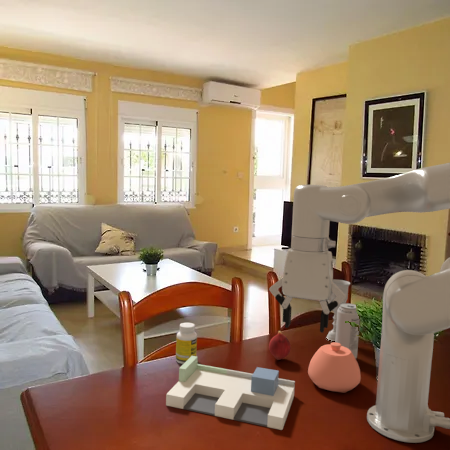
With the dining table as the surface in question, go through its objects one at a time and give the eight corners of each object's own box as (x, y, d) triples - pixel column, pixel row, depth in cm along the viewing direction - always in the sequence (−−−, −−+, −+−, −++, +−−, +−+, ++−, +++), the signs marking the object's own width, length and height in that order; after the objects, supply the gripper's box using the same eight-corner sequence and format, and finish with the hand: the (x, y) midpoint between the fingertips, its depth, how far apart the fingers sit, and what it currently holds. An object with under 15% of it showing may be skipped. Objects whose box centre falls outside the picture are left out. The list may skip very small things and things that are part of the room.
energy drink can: (341, 352, 125) (344, 301, 123) (360, 359, 120) (364, 306, 119) (330, 358, 120) (333, 305, 119) (350, 365, 116) (353, 310, 114)
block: (278, 385, 98) (278, 370, 98) (273, 396, 93) (274, 380, 93) (256, 381, 99) (257, 367, 99) (250, 391, 95) (251, 376, 94)
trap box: (294, 395, 99) (295, 372, 98) (282, 430, 85) (283, 403, 84) (191, 376, 106) (192, 355, 106) (166, 405, 93) (166, 380, 92)
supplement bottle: (193, 366, 112) (194, 329, 111) (173, 363, 113) (173, 327, 112) (198, 357, 118) (199, 322, 116) (179, 355, 119) (180, 320, 118)
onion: (293, 359, 119) (294, 330, 118) (284, 366, 114) (285, 336, 113) (274, 353, 122) (275, 326, 121) (264, 360, 117) (265, 332, 116)
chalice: (322, 341, 132) (326, 283, 130) (321, 334, 139) (325, 278, 137) (347, 344, 131) (351, 285, 129) (345, 336, 138) (349, 280, 135)
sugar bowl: (303, 390, 101) (305, 348, 100) (312, 366, 114) (315, 329, 113) (358, 401, 97) (361, 357, 96) (361, 375, 110) (364, 336, 109)
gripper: (353, 245, 91) (348, 328, 93) (272, 239, 96) (268, 317, 98) (352, 250, 84) (346, 340, 86) (264, 243, 89) (260, 328, 91)
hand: (304, 327), depth 92 cm, fingers open, 6 cm apart
